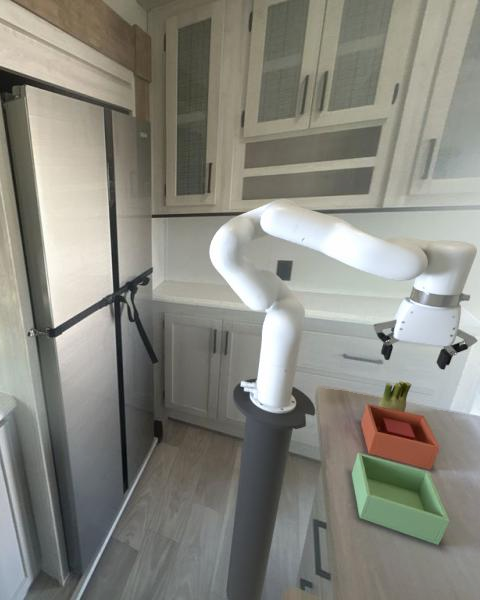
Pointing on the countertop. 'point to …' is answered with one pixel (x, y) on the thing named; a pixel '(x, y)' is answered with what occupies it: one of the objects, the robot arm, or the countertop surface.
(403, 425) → the red block
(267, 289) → the robot arm
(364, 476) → the sage bin
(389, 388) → the fennel bulb
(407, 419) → the terracotta bin
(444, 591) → the countertop surface
